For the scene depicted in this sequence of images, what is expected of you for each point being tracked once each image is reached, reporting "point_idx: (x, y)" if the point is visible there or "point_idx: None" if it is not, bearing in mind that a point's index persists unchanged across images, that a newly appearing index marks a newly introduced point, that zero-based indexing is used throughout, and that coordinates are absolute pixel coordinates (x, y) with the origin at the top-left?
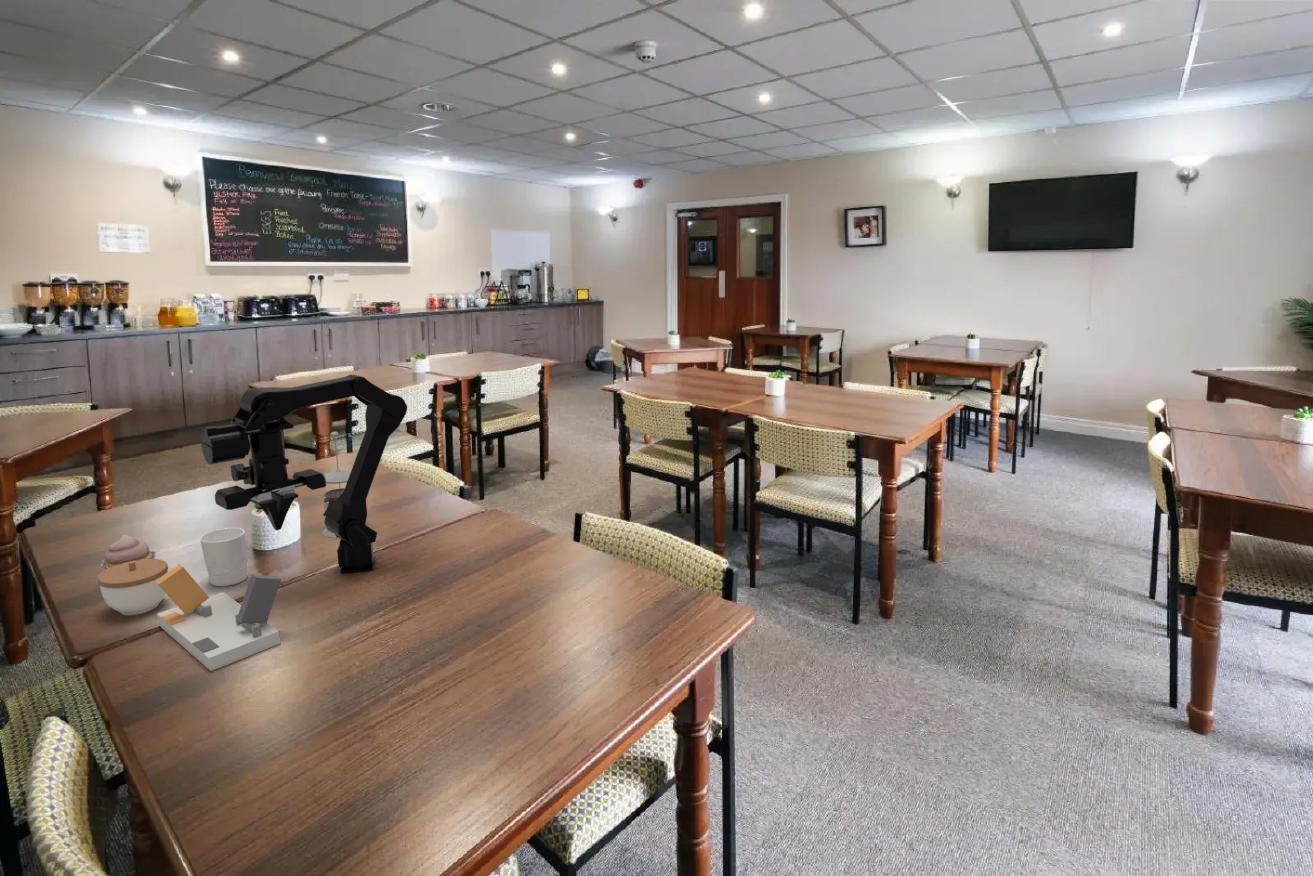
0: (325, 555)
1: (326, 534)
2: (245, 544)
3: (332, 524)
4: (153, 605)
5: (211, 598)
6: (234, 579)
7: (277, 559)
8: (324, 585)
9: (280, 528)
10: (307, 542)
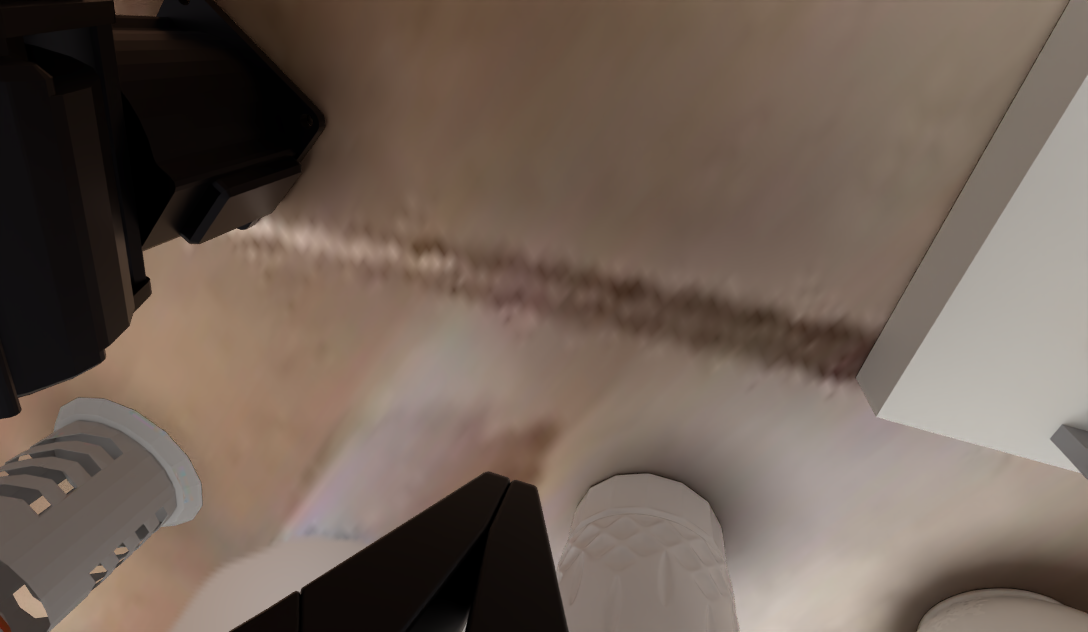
0: (280, 360)
1: (192, 489)
2: None
3: (27, 232)
4: (1031, 600)
5: (973, 410)
6: (671, 495)
7: (424, 495)
8: (463, 76)
9: (488, 479)
10: (273, 503)
